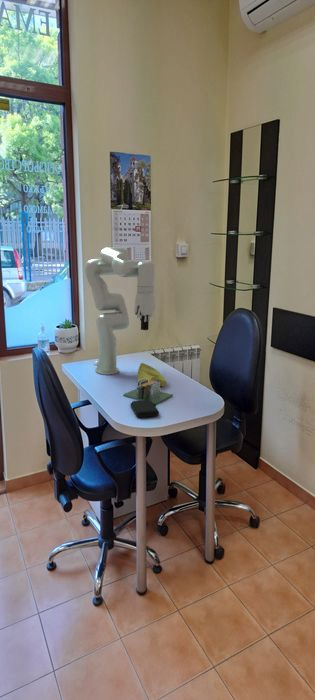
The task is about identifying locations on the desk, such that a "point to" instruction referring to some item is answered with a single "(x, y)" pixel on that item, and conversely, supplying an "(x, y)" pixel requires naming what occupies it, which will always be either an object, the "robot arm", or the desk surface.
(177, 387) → the desk surface
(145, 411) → the carrying case or bag
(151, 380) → the tan rectangular block
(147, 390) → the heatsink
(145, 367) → the plastic component
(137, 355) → the desk surface
